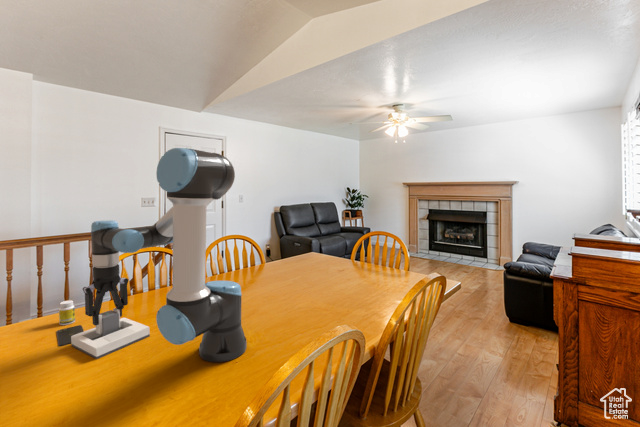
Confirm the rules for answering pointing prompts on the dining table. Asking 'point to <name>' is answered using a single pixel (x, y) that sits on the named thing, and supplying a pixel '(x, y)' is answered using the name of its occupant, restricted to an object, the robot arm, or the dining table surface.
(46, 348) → the dining table surface
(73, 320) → the supplement bottle
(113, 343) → the white slotted tray
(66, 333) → the smartphone
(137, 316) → the dining table surface
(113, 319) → the charger brick
